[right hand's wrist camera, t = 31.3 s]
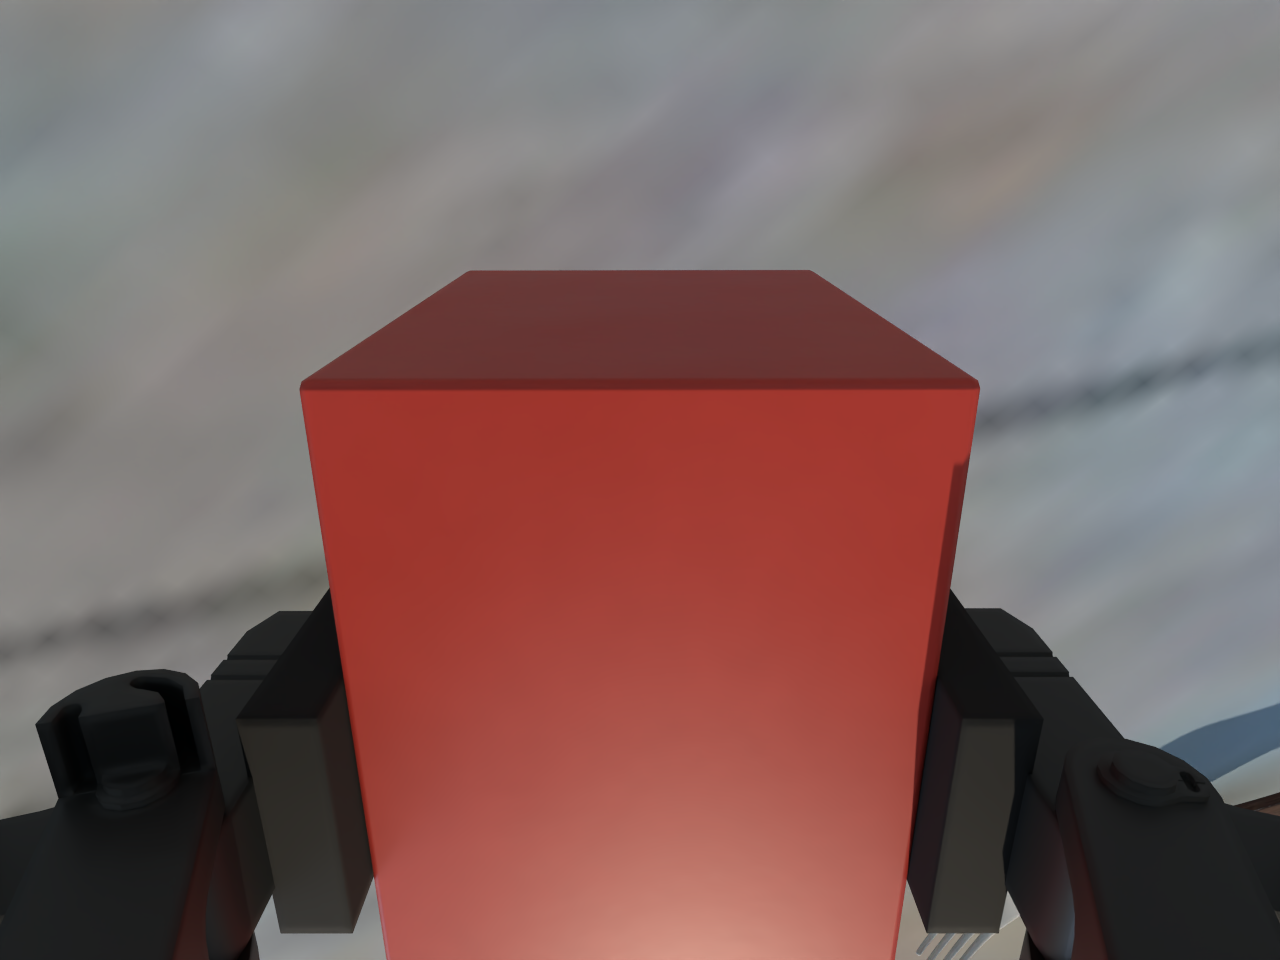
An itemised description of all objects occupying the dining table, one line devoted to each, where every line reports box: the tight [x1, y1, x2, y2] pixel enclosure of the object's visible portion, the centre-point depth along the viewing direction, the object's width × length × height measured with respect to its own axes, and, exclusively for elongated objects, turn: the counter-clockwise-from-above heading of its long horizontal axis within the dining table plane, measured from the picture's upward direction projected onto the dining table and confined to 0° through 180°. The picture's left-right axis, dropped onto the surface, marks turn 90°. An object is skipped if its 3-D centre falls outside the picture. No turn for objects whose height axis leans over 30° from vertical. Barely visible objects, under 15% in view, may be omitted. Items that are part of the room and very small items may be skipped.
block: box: [300, 270, 980, 960], centre depth 12 cm, size 9×6×8 cm, turn 0°
